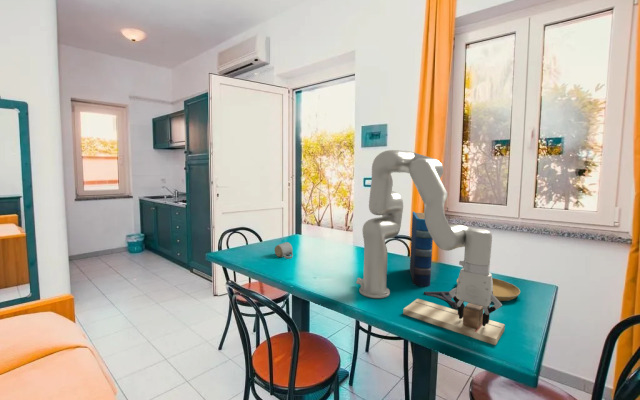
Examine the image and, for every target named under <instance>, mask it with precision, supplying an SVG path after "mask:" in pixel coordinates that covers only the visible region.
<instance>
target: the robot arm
mask: <svg viewBox="0 0 640 400" xmlns="http://www.w3.org/2000/svg"><path fill="white" fill-rule="evenodd" d="M393 173H400V174H401V173H406V174H409V175H410V178H411V180H412V182H413V184H414V186H415V188H416V190H417V192H418V194H419V195H420V198H421V201H422V202H423V205H424V209H423V213H424V215H425V223H426V226H427V229H428V231H429V233H430V235H431V237H432V239H433V242H434V244H435V245H436V246H437V247H438V248H439V249H441V250H442V251H452V250H455V249H459V248H464V256H463V257H464V258H463V259H464V260H460V261H459V263H458V264H459V265H460V266H461V267H462V268H461V269H460V271H459V275H458V278H457V279H458V283H456V287H455V288H452V289H451V290H450V291H448V292H449V294H450V295H451V296H452V297H453V298H452V301H454V302H456V303H457V306H458V309H457V310H458V315H459V319H462V318H463V311H464V307H465V306H466V305H465V304H464V303H467V304H468V303H472V304H475V305H479V306H482V307H483V320H482V325H483V326H485V325H486V324H487V323H489V320H490V314H492V313H494V312H495V311H496V310H498V309H500V308H501V307H502V306H503V304H502V302H501V301H499V300H498V299H497V298H496V297H495V296H494V295H493V281H492V278H493V275H492V273H491V272H490V271H491V270H490V269H491V256H492V255H491V254H492V246H493V245H492V241H493V233H492V232H491V231H490V230H487V229H483V228H473V227H470V226H466V225H464V224H463V225H462V224H454V225H450V223H449V221H448V219H447V217H446V214H445V208H444V207H445V203H446V201H447V198H448V194H449V193H448V191H447V190H446V188H445V186H444V184H443V182H442V179H441V177H443V175H444V166H443V163H442V162H440V160H438V159H436V158H434V157H430V156H427V155H424V154H420V153H417V152H413V151H408V150H397V149H396V150H394V149H389V150H384V151H382V152H380V153H378V154H377V155H376V157H374V159H373V161H372V166H371V182H370V191H369V198H368V199H369V200H368V209H369V211H370V213H371V214H372V215H374V216H379V217H374V218H370V219H368V220H367V221H365V222H364V223H363V225H362V238H363V245H364V248H363V249H364V250H363V251H364V252H363V258H364V259H363V278H361V277H357V278H356V281H355V283H356V284H357V285H360V287H359V293H360V294H361V295H362V296H364V297H366V298H369V299H370V298H371V299H384V298H387V297H389V296H390V294H391V290H390V289H389V288H388V287H387V280H388V279H387V275H388V273H387V272H388V247H387V245H386V241H387V240H389V239H393V238H395V237H397V236H398V235H399V234H400V230H401V228H402V227H401V226H402V219H403V212H404V211H403V210H404V201H403V198H402V196H401V195H400V194H399V193H398V192H397V191H393V185H394V184H393V176H392V174H393ZM455 293H456V294H455ZM492 302H493V304H494V305H491V303H492ZM490 305H491V306H490Z"/></svg>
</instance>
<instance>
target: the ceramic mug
mask: <svg viewBox="0 0 640 400" xmlns="http://www.w3.org/2000/svg"><path fill="white" fill-rule="evenodd" d="M274 254H275V255H276V256H277V258H285V259H287V260H289V259H292V258H293V256H294V254H293V246H292V244H291V243H290V242H287V241H286V242H282V243H280V244H277V245H275V248H274Z"/></svg>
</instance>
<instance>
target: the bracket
mask: <svg viewBox="0 0 640 400" xmlns="http://www.w3.org/2000/svg"><path fill="white" fill-rule="evenodd" d="M449 292H450V291H423V294H424V295H425V296H429V297H433V298H437V299H441V300H443V301H445V302H447V303H448V304H449V305H450V306H451V307H452V308H453V309H454V310H458V306H457V303H456V302H455V301H454V300H453V297H452V296H451V295H450V294H449ZM455 294H456V293H455Z"/></svg>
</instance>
